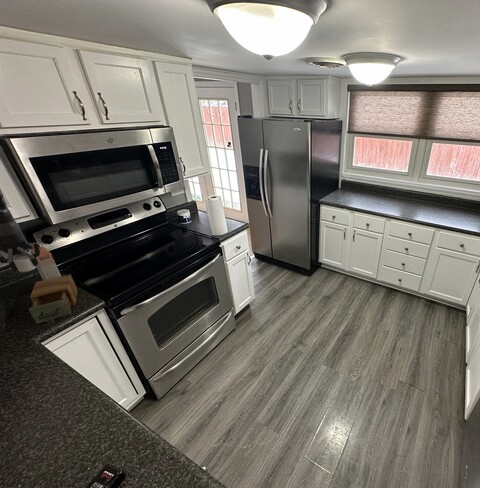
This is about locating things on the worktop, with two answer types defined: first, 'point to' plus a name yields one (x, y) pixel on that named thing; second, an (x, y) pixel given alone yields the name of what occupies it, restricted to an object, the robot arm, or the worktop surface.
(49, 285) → the cabinet
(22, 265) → the grey cylinder
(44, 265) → the cracker box
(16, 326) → the worktop surface
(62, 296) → the drawer
